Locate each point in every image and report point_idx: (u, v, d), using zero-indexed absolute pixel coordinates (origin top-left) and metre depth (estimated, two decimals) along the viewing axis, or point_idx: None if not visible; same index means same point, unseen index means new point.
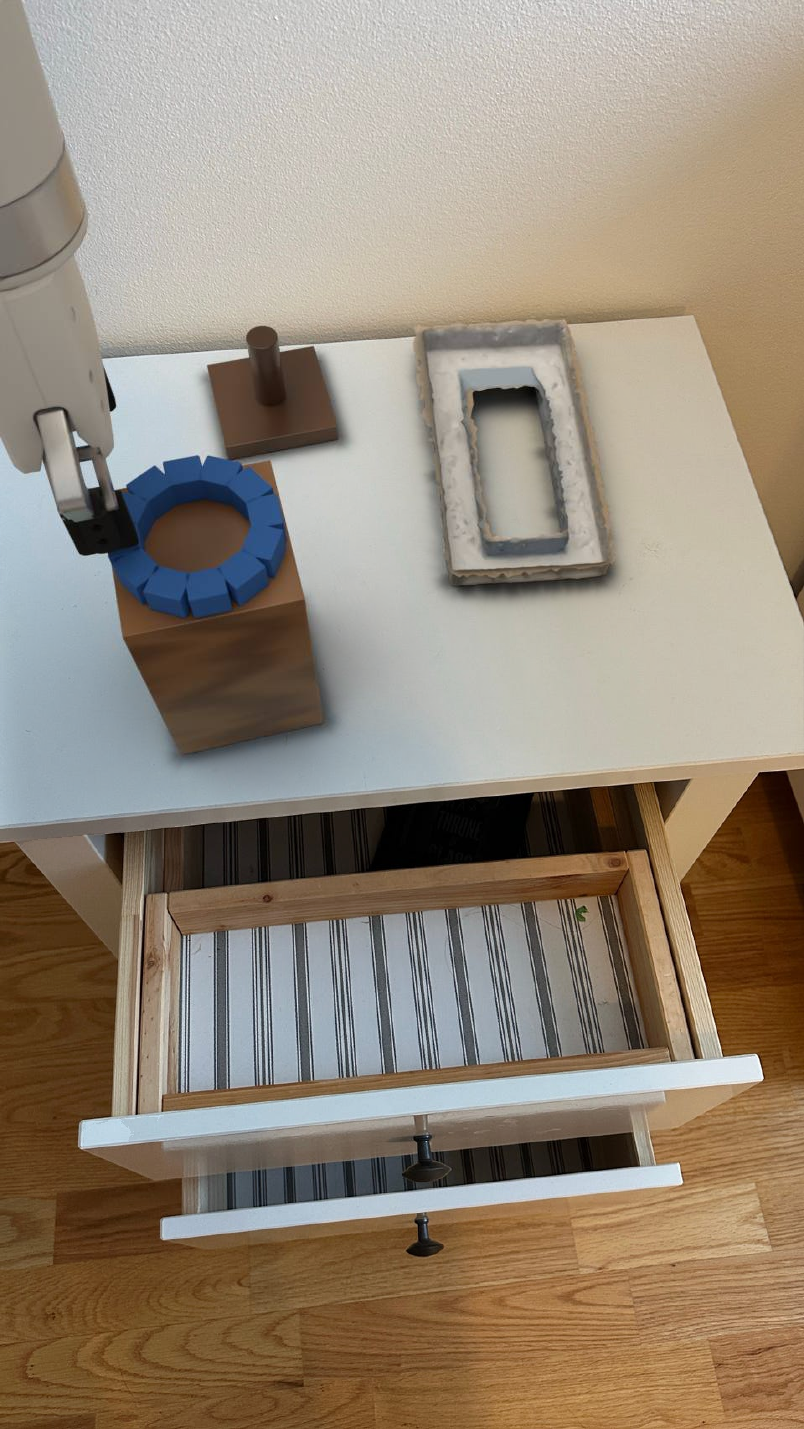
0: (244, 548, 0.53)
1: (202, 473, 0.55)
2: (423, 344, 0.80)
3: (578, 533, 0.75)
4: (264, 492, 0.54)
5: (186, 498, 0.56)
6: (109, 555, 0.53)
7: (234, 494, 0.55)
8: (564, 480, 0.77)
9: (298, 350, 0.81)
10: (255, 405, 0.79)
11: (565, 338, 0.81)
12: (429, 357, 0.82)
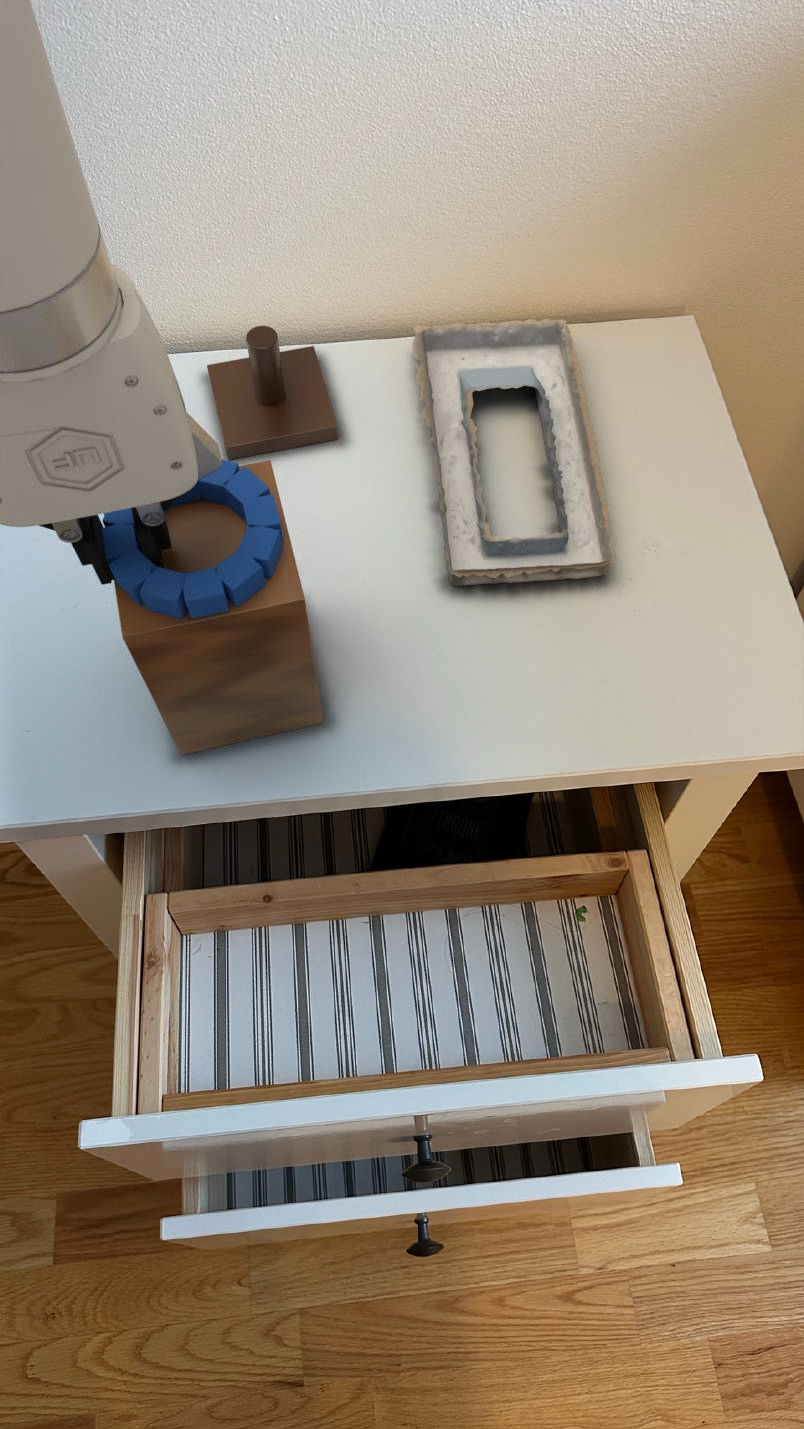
0: (241, 549, 0.53)
1: None
2: (423, 344, 0.80)
3: (578, 533, 0.75)
4: (261, 493, 0.54)
5: (183, 499, 0.56)
6: (106, 556, 0.53)
7: (231, 495, 0.55)
8: (564, 480, 0.77)
9: (298, 350, 0.81)
10: (255, 405, 0.79)
11: (565, 338, 0.81)
12: (429, 357, 0.82)
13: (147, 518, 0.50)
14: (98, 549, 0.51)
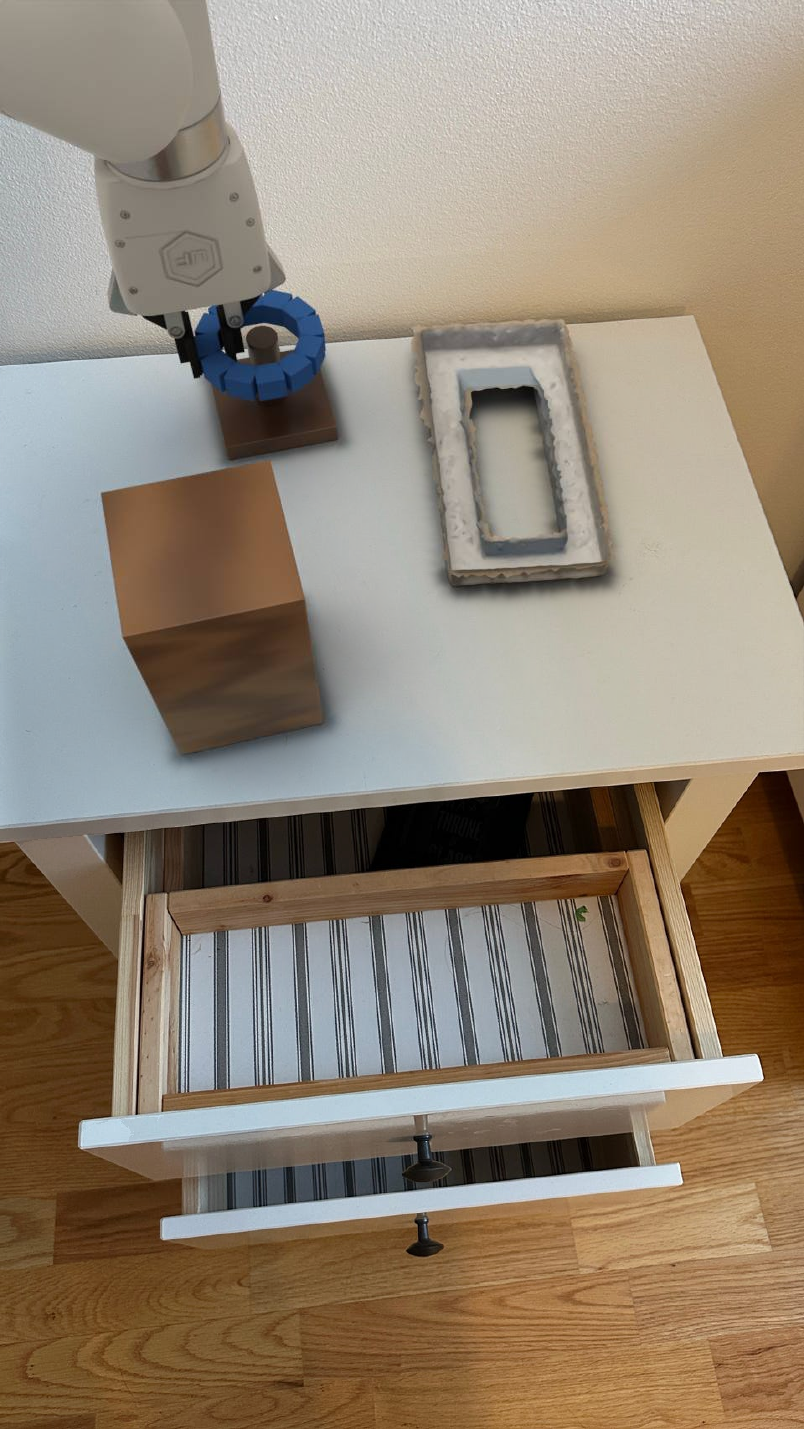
0: (296, 350, 0.73)
1: (263, 300, 0.75)
2: (421, 344, 0.80)
3: (577, 533, 0.75)
4: (309, 313, 0.74)
5: (251, 321, 0.76)
6: (198, 354, 0.72)
7: (287, 315, 0.74)
8: (563, 479, 0.77)
9: None
10: (255, 405, 0.79)
11: (564, 338, 0.81)
12: (427, 357, 0.82)
13: (231, 321, 0.70)
14: (194, 345, 0.71)
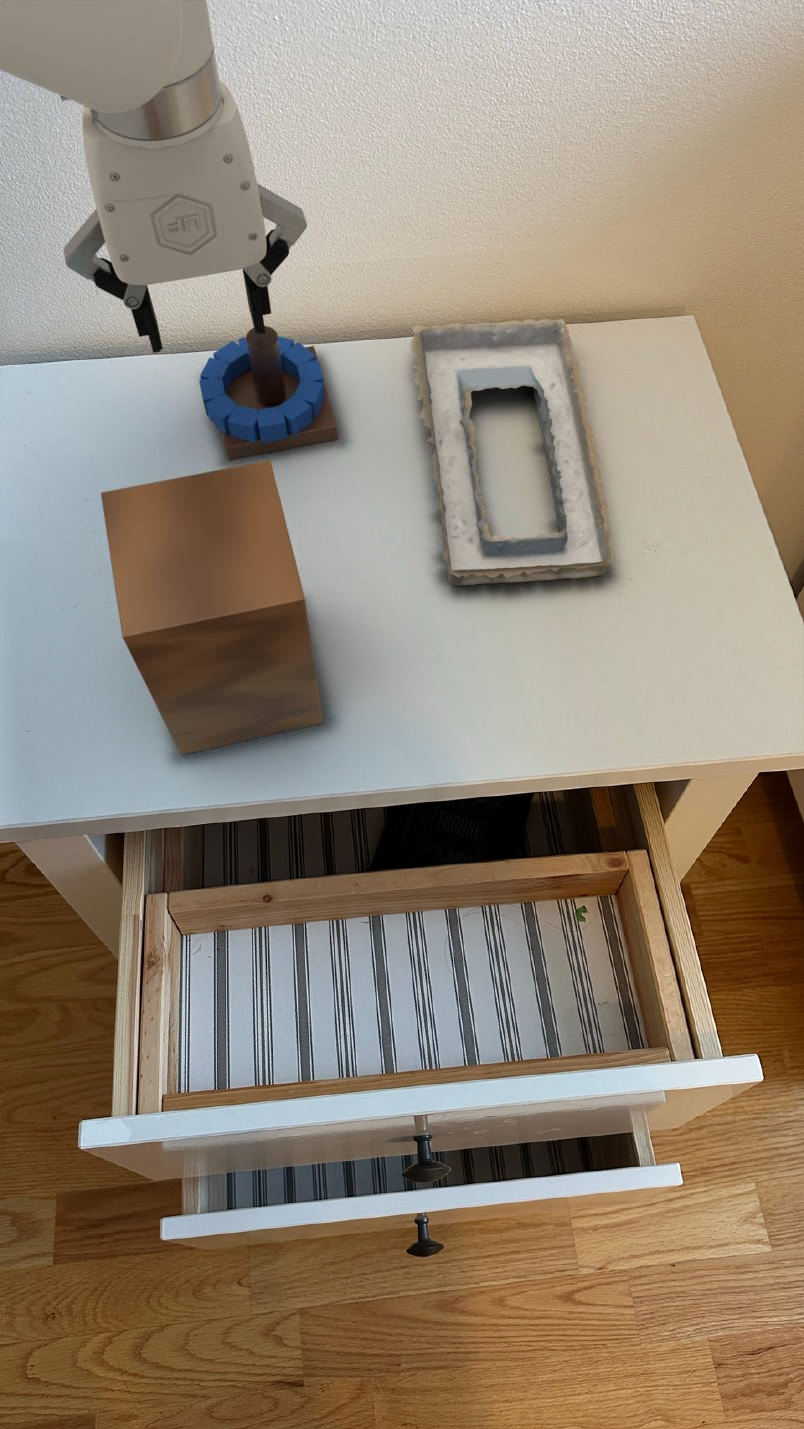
0: (296, 394, 0.77)
1: None
2: (421, 344, 0.80)
3: (577, 533, 0.75)
4: (309, 359, 0.78)
5: None
6: (203, 398, 0.76)
7: (288, 360, 0.78)
8: (563, 479, 0.77)
9: None
10: (255, 405, 0.79)
11: (563, 338, 0.81)
12: (427, 357, 0.82)
13: (258, 279, 0.68)
14: (152, 317, 0.68)
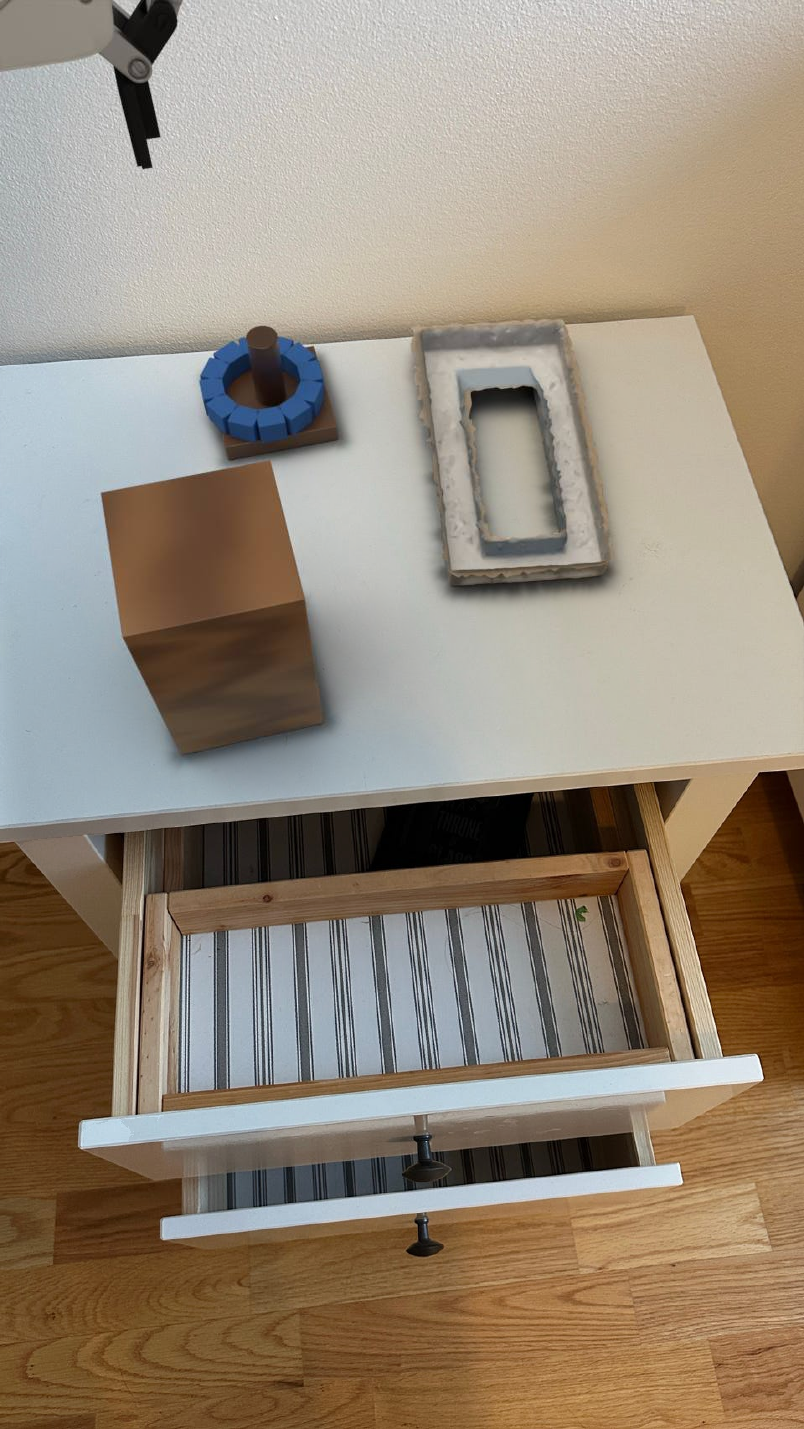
0: (296, 394, 0.77)
1: None
2: (421, 344, 0.80)
3: (577, 533, 0.75)
4: (309, 359, 0.78)
5: None
6: (203, 398, 0.76)
7: (288, 360, 0.78)
8: (562, 479, 0.77)
9: None
10: (255, 405, 0.79)
11: (563, 338, 0.81)
12: (427, 357, 0.82)
13: (131, 68, 0.43)
14: None
